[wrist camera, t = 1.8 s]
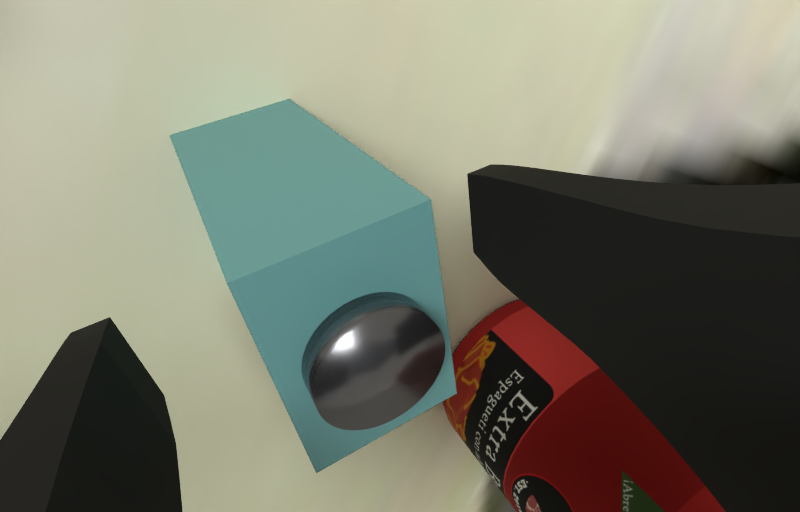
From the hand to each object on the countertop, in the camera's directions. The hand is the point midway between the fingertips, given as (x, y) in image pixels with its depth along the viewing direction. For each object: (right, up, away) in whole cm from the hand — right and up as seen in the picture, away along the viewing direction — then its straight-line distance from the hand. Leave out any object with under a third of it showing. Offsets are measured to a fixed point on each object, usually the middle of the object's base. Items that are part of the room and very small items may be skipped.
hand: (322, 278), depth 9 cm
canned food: (+6, -4, +13) cm, 15 cm away
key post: (-2, +2, +4) cm, 5 cm away
